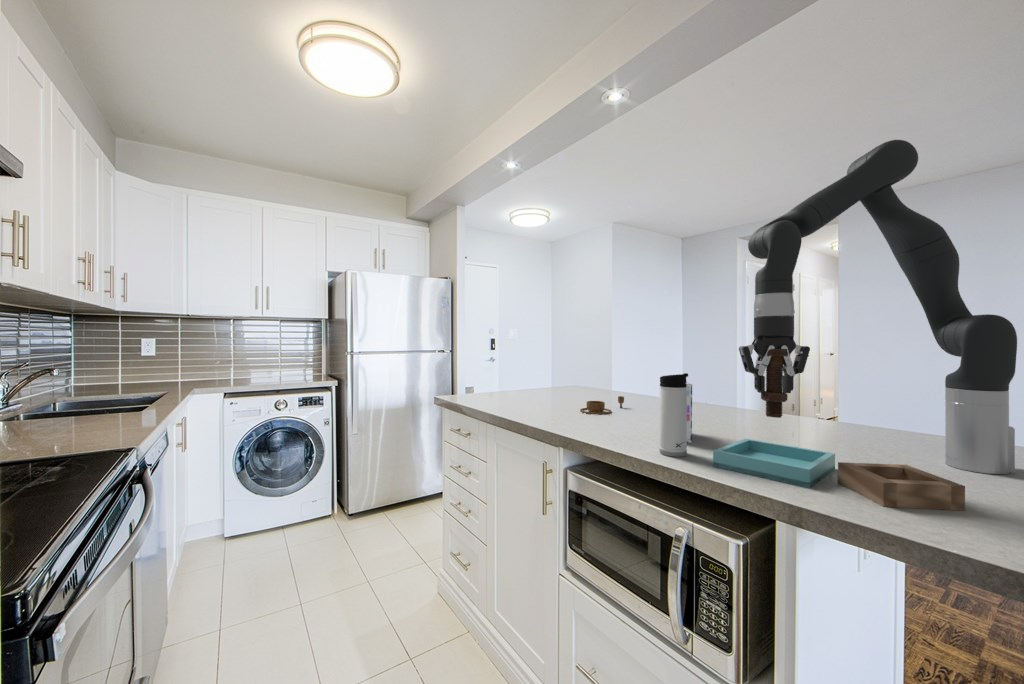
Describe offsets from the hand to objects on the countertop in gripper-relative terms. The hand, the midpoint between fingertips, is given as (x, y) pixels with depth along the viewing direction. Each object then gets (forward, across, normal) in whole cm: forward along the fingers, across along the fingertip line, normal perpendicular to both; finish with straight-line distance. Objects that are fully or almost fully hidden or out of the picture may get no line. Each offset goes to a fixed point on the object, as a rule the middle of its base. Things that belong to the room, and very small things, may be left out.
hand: (773, 392), depth 91 cm
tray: (+17, 0, 0) cm, 17 cm away
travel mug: (+17, +19, -9) cm, 27 cm away
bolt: (+6, 0, 0) cm, 6 cm away
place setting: (+17, +31, -68) cm, 77 cm away
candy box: (+17, +14, -27) cm, 35 cm away
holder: (+17, -14, +15) cm, 26 cm away
